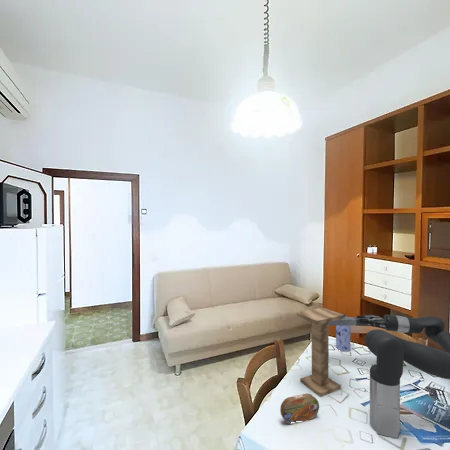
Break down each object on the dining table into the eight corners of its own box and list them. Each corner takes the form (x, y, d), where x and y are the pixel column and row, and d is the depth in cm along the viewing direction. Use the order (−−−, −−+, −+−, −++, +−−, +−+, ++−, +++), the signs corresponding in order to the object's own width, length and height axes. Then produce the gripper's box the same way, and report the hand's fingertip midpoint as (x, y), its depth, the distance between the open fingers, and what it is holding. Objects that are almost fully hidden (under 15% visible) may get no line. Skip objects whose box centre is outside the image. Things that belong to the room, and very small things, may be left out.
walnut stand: (322, 374, 129) (322, 307, 129) (343, 387, 118) (343, 315, 118) (296, 383, 122) (296, 312, 122) (316, 398, 111) (316, 321, 111)
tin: (283, 426, 96) (283, 403, 96) (279, 420, 99) (279, 397, 99) (319, 418, 100) (319, 395, 100) (314, 412, 103) (314, 390, 103)
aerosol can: (332, 346, 158) (333, 312, 158) (345, 345, 159) (345, 311, 159) (340, 352, 150) (340, 316, 150) (353, 351, 152) (353, 315, 152)
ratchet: (368, 322, 137) (367, 313, 137) (372, 326, 131) (371, 316, 131) (319, 321, 142) (318, 312, 142) (320, 325, 136) (320, 315, 136)
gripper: (402, 336, 125) (361, 331, 128) (389, 326, 139) (353, 322, 142) (402, 320, 125) (362, 315, 128) (390, 311, 139) (354, 307, 142)
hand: (358, 319), depth 135 cm, fingers closed on ratchet, 4 cm apart
